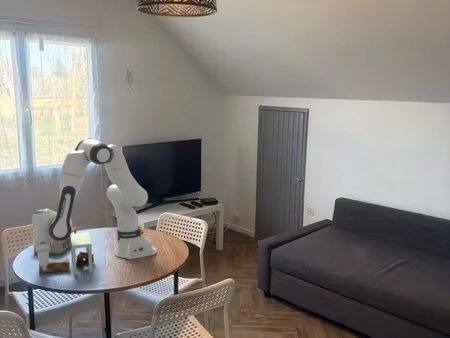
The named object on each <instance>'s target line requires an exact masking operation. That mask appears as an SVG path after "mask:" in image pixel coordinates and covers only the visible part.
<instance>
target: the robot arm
mask: <svg viewBox="0 0 450 338" xmlns="http://www.w3.org/2000/svg"><path fill="white" fill-rule="evenodd" d="M90 163H93V164H95V165H104V168H105V171H106V172H107V173H106V174H107V175H108V178H109V181H110V183H112V184H111V185H110V186H109V187H108V188H107V190H106V191H107V192H106V197H107V199H108V200H109V201H110V202H111V204H112V206H113V209H114V211H115V215H116V221H117V222H116V223H117V229H116V240H117V242H116V244H117V245H116V250H115V254H114V255H115V256H116V257H118V258H122V259H127V260H135V259H139V258H143V257H144V258H145V257H149V256H154V255H156V254H157V249H156V248H155V246H153V244H152V241H151V239H150V238H148V237H147V236H145V235H144V232H145V231H144V230H143V229H141V228H140V227H139V216H138V213H137V212H136V211H135V210H134V209H133V207H135V208H138V207H143V206H145V205H146V203H147V201H148V199H149V195H148V192H147V190H145V188H143V187H142V186H141V185H140V184H139V183H138V182H137V180H136V179H135V177H134V176H133V175H132V173H131V171H130V169H129V165H128V163H127V161H126V158H125V156H124V153H123V152H122V150H121V148H120V147H119V146H118V145H116V144H108V145H107V144H105V143H103V142H102V141H99V140H96V139H93V138H91V137H90V138H89V137H88V138H83V139H81V140H80V141H79V142H78V143H77V145H76V147H75V148H74V150H71V151H69V152H68V153H66V156H65V158H64V160H63V164H62V167H61V171H60V175H59V202H58V207H57V211H55V210H52V209H50V208H39V209H36V210H35V211H34V212H33V214H32V216H31V217H32V218H31V219H32V220H31V225H32V228H31V229H32V230H33V234H32V239H33V240H32V241H33V248H34V247H35V249H36V251H37V254H38V255H37V254H36V255H37V258H38V265H39V264H40V266H42V267H43V270H47V265H48V261H50V260H49V258H50V255H49V250H50V248H51V246H52V244H53V239H54V240H57V241H63V240H66V239H67V238H68V237H69V236H70V235H71V234H72V233H71V231H72V230H71V226H72V225H73V221H72V217H71V216H72V211H73V207H74V204H75V203H74V202H75V200H76V197H77V196H78V194H79V192H80V189H81V187H82V185H83V182H84V180H85V175H86V170H87V167H88V166H89V164H90ZM72 227H73V226H72Z"/></svg>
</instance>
